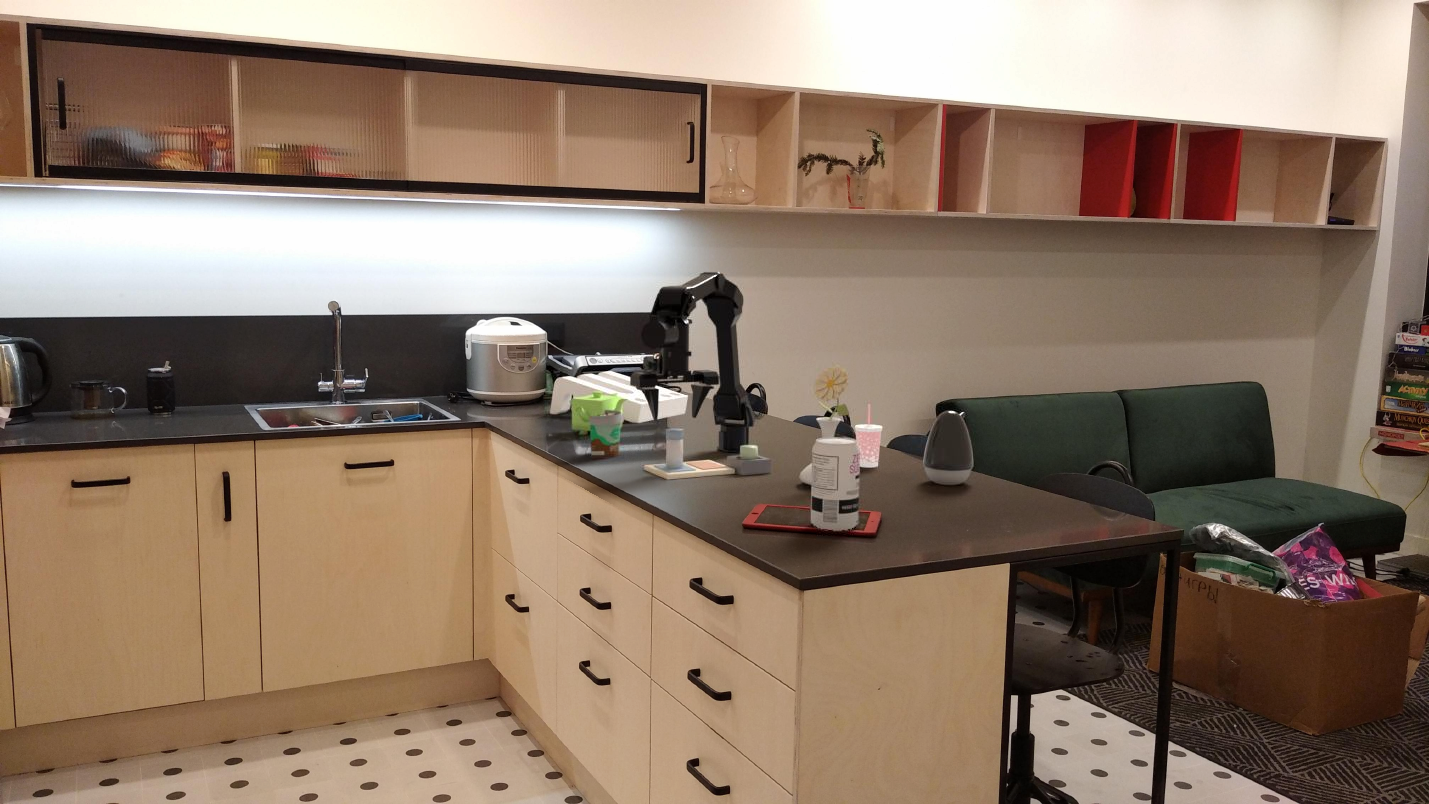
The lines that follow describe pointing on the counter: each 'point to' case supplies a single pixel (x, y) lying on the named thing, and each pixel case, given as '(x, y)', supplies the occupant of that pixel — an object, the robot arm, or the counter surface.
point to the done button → (748, 452)
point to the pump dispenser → (948, 450)
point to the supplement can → (835, 483)
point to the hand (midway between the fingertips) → (674, 418)
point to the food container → (605, 434)
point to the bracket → (617, 383)
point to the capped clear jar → (674, 448)
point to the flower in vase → (826, 389)
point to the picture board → (690, 469)
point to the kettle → (592, 409)
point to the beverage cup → (868, 442)
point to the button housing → (749, 465)
